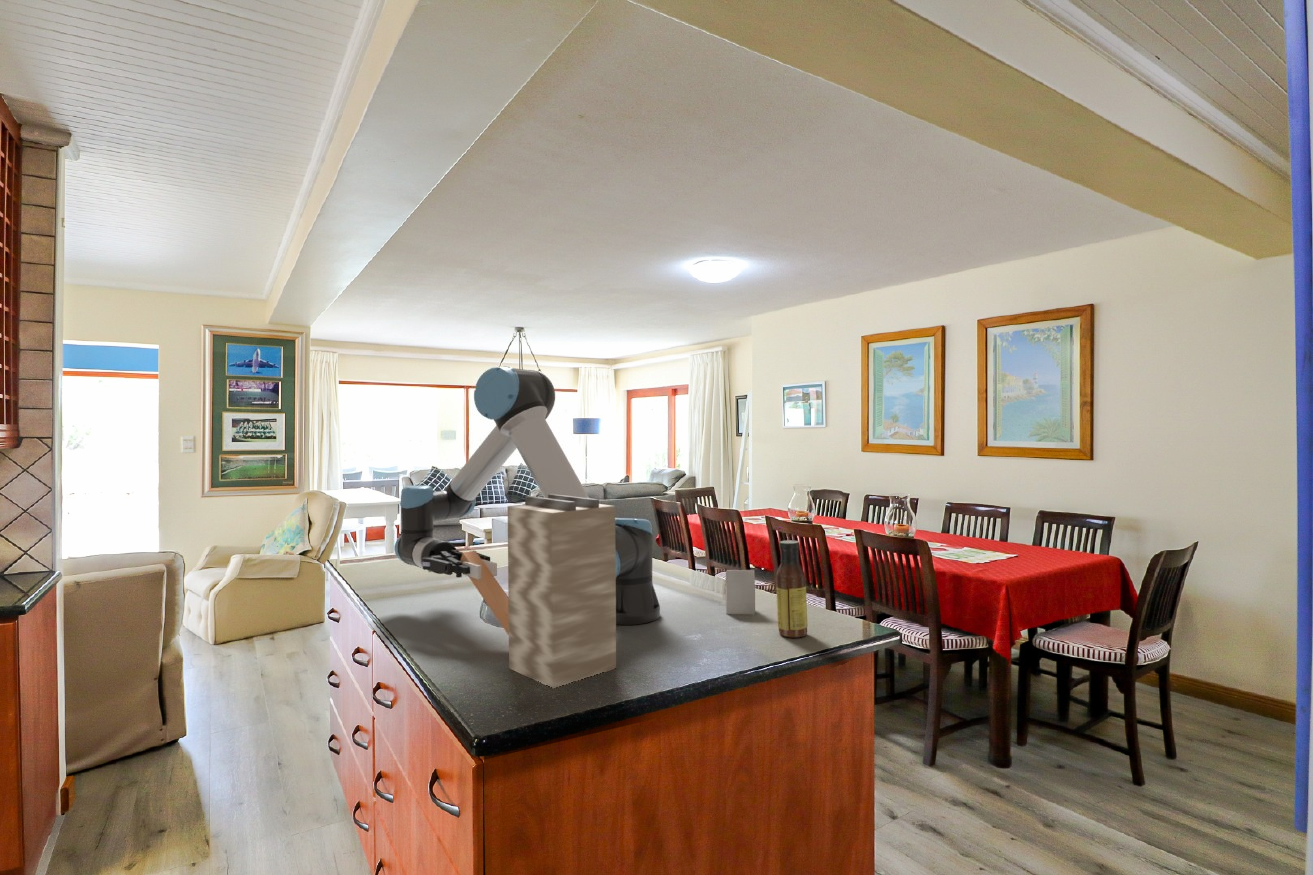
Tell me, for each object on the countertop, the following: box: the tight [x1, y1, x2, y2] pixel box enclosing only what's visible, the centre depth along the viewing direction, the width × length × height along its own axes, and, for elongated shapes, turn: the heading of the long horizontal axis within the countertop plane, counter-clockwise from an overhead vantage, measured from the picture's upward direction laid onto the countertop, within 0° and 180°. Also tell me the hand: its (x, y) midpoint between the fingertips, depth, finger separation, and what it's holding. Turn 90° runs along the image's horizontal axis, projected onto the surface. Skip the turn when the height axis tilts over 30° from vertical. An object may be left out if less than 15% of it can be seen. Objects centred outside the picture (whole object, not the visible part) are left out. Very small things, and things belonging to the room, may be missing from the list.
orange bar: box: [460, 550, 509, 636], centre depth 145 cm, size 26×3×3 cm
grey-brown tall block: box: [507, 494, 617, 690], centre depth 128 cm, size 14×14×32 cm
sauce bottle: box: [775, 539, 808, 639], centre depth 148 cm, size 7×6×20 cm
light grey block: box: [725, 569, 756, 615], centre depth 166 cm, size 4×7×10 cm, turn 88°
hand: (487, 571), depth 147 cm, fingers closed on orange bar, 3 cm apart
